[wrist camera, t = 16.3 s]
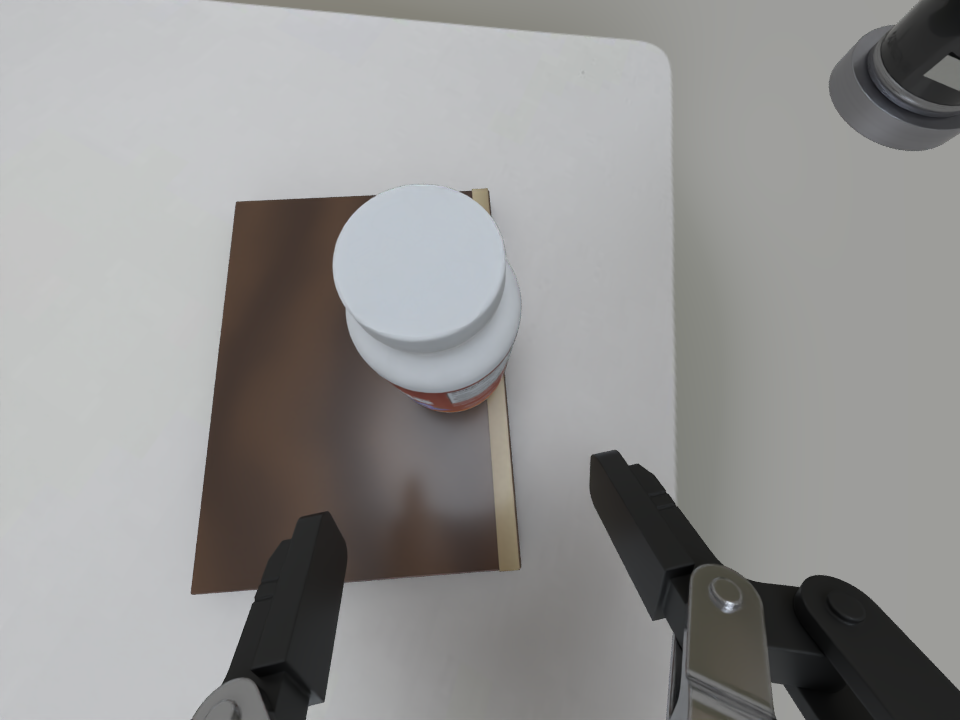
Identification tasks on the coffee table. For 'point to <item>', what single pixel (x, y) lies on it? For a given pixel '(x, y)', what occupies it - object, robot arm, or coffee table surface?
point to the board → (336, 426)
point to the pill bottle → (429, 294)
